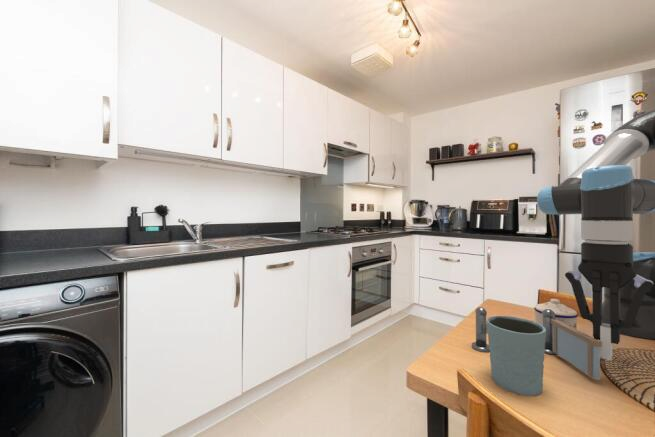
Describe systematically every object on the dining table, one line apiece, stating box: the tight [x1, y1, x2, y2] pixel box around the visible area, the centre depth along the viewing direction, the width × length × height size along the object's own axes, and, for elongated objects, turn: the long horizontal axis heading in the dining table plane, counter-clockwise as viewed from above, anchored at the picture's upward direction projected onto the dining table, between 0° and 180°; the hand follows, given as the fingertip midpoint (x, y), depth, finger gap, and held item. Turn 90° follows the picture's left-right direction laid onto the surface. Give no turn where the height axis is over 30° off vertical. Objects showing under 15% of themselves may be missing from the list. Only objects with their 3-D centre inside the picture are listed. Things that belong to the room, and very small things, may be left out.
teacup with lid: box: [533, 298, 579, 330], centre depth 75 cm, size 12×9×12 cm
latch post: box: [471, 306, 490, 353], centre depth 72 cm, size 5×4×10 cm
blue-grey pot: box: [486, 315, 546, 397], centre depth 57 cm, size 10×10×12 cm
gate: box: [551, 319, 602, 380], centre depth 62 cm, size 12×1×8 cm, turn 174°
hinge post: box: [542, 309, 559, 356], centre depth 70 cm, size 4×4×10 cm
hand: (606, 357), depth 57 cm, fingers closed
